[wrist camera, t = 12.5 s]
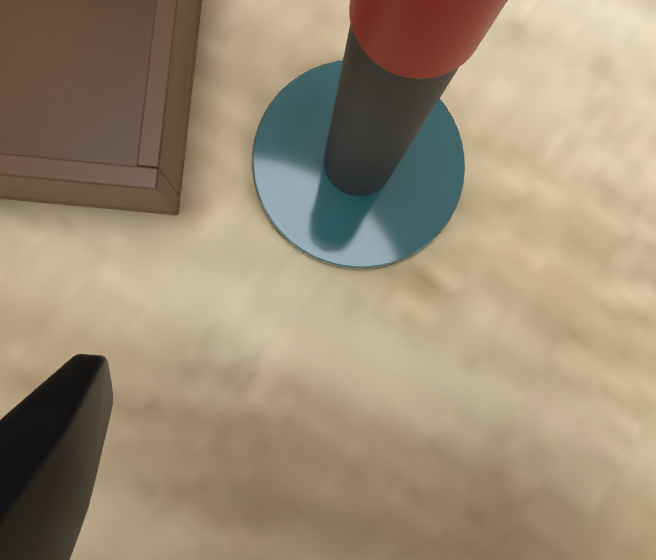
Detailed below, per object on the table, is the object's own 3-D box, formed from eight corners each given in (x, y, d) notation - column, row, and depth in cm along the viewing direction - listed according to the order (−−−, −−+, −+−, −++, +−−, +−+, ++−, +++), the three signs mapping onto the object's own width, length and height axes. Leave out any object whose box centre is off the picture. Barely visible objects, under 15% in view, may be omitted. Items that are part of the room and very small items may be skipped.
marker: (406, 185, 23) (584, -50, 9) (335, 208, 23) (410, 3, 9) (381, 116, 23) (518, -216, 9) (310, 138, 23) (346, -169, 9)
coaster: (491, 230, 24) (495, 227, 23) (293, 298, 23) (293, 297, 22) (419, 39, 24) (422, 33, 24) (224, 99, 24) (222, 94, 23)
